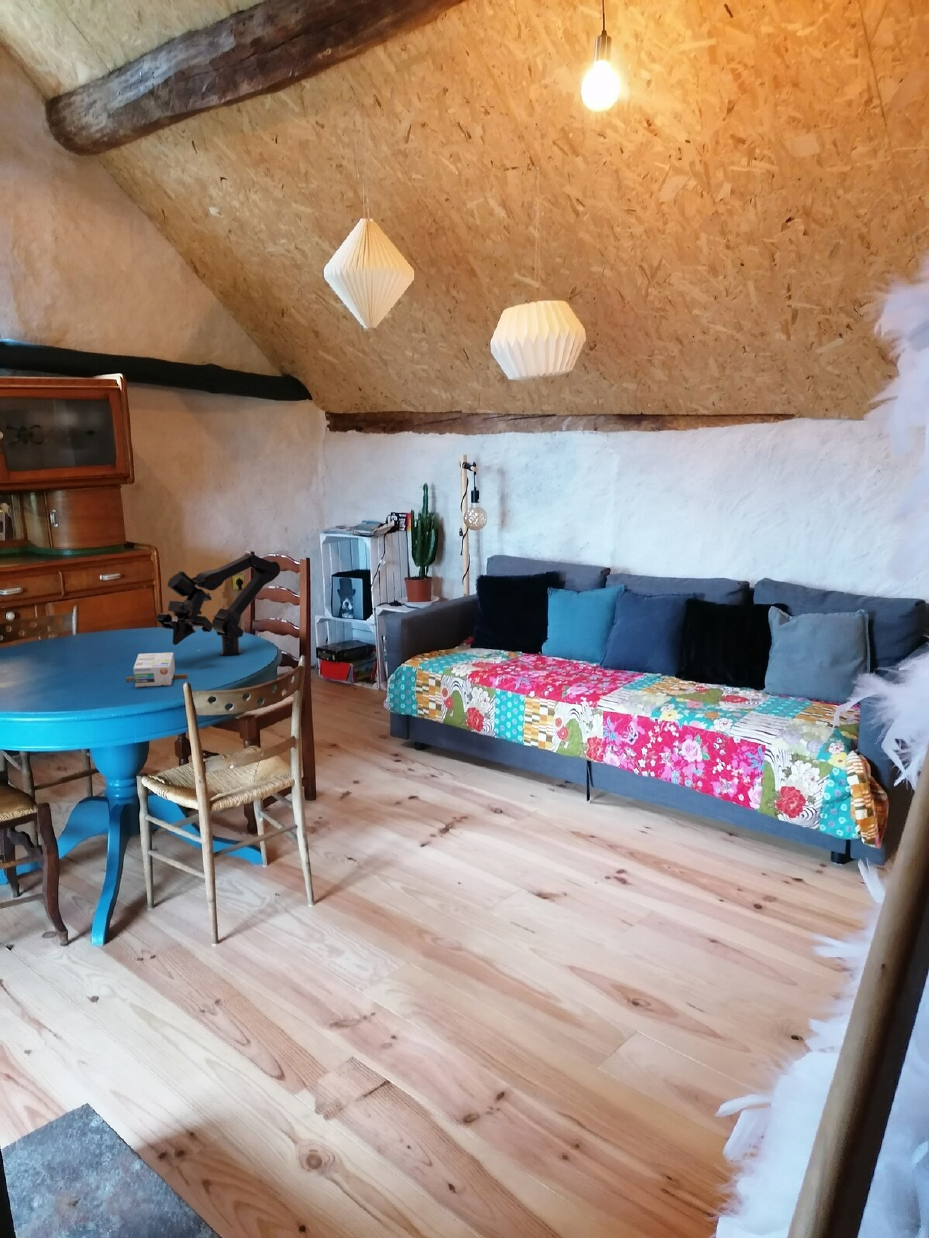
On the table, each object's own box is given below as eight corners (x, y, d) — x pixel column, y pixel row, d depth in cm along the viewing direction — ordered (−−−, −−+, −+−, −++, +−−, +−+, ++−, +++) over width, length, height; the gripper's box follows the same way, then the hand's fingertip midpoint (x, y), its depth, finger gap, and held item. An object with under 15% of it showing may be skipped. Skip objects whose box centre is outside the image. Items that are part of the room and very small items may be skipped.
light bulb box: (140, 672, 260) (134, 688, 251) (137, 653, 258) (132, 668, 248) (176, 670, 262) (171, 686, 253) (173, 651, 260) (169, 666, 250)
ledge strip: (127, 680, 258) (127, 676, 258) (187, 677, 262) (187, 673, 261) (126, 681, 257) (126, 678, 256) (186, 678, 260) (186, 675, 260)
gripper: (156, 589, 274) (137, 629, 266) (204, 592, 268) (185, 632, 260) (174, 608, 283) (155, 647, 275) (220, 611, 277) (203, 651, 269)
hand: (174, 644), depth 269 cm, fingers closed
